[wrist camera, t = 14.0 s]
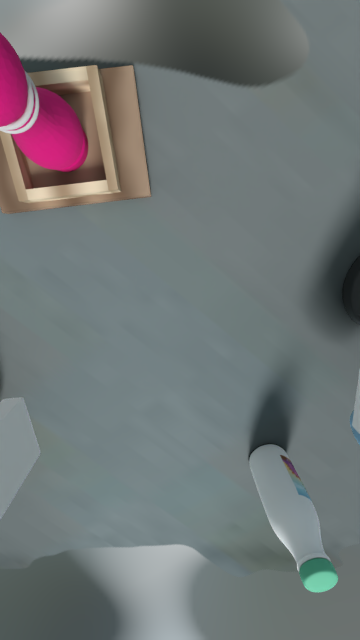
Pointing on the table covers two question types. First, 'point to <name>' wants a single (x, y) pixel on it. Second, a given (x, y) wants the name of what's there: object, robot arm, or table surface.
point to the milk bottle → (292, 515)
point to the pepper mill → (38, 117)
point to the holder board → (103, 145)
